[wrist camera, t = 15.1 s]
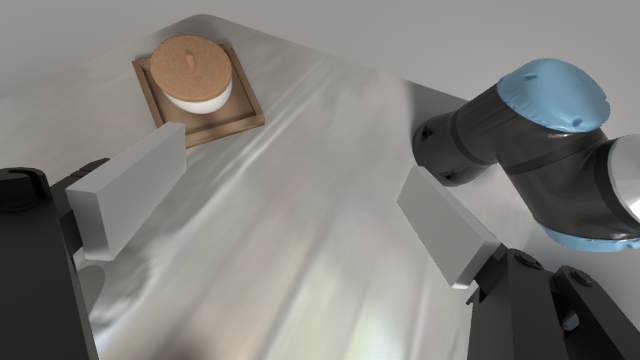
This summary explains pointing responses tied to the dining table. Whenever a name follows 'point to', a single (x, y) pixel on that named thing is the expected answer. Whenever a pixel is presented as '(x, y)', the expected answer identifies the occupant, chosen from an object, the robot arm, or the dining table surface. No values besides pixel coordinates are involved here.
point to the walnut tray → (211, 126)
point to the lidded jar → (192, 73)
